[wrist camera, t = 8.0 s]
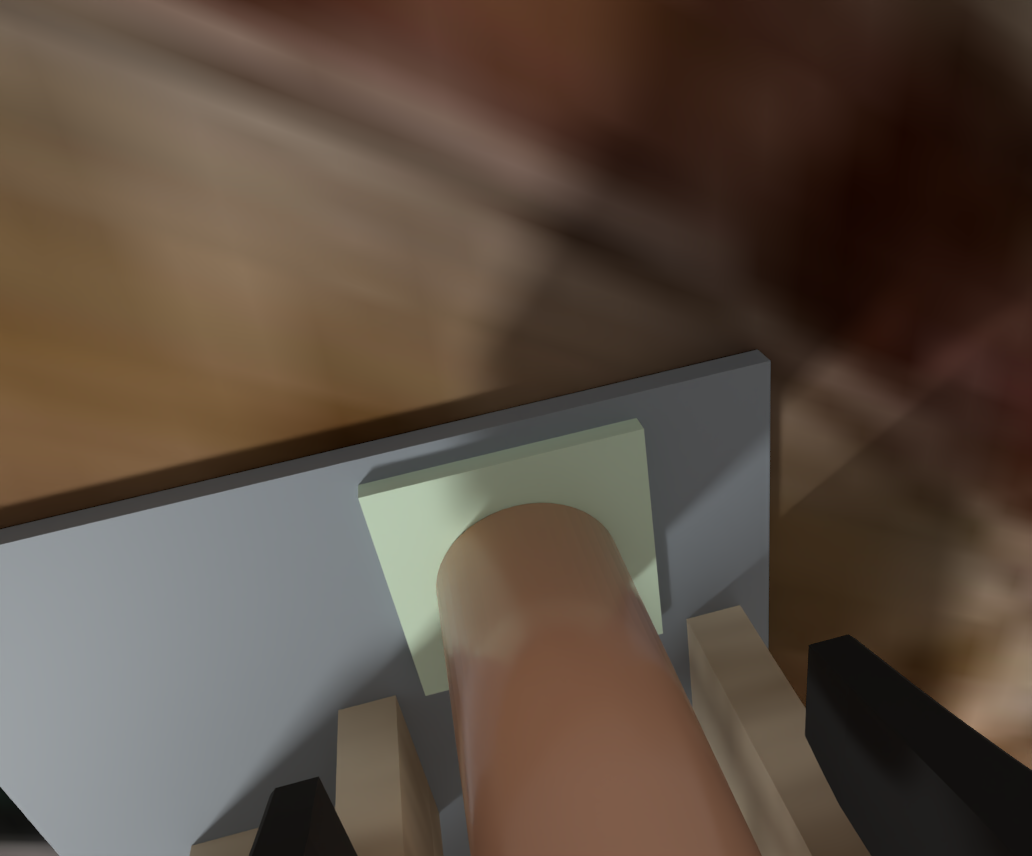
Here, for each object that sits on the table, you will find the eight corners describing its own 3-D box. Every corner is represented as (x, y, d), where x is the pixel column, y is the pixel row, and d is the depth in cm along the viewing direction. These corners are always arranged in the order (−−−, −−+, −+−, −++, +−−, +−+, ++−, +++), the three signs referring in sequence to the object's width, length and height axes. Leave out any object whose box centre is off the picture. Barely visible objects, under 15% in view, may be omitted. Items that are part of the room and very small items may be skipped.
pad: (656, 620, 16) (663, 633, 16) (424, 680, 16) (425, 696, 15) (636, 417, 13) (643, 428, 13) (358, 484, 13) (357, 497, 13)
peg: (626, 622, 15) (845, 1133, 8) (456, 666, 15) (540, 1229, 8) (610, 482, 13) (872, 990, 7) (416, 530, 13) (480, 1107, 6)
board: (758, 882, 23) (766, 899, 22) (232, 1035, 22) (230, 1056, 21) (757, 349, 14) (770, 360, 13) (-153, 565, 13) (-171, 585, 12)
